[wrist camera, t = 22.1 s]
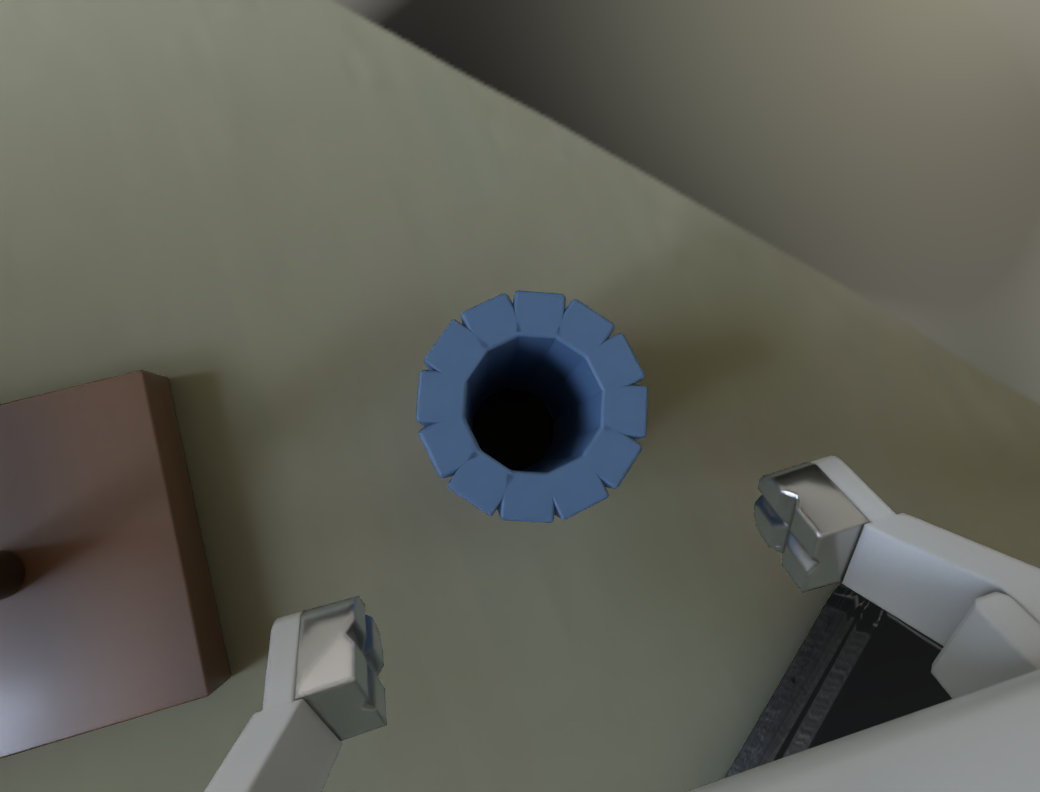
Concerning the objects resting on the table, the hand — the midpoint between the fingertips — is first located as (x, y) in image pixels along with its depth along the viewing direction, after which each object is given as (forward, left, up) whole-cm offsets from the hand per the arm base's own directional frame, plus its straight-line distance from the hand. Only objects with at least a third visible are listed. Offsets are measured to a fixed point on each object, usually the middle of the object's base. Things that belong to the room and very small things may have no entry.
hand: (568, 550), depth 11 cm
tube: (-2, +2, -8) cm, 9 cm away
